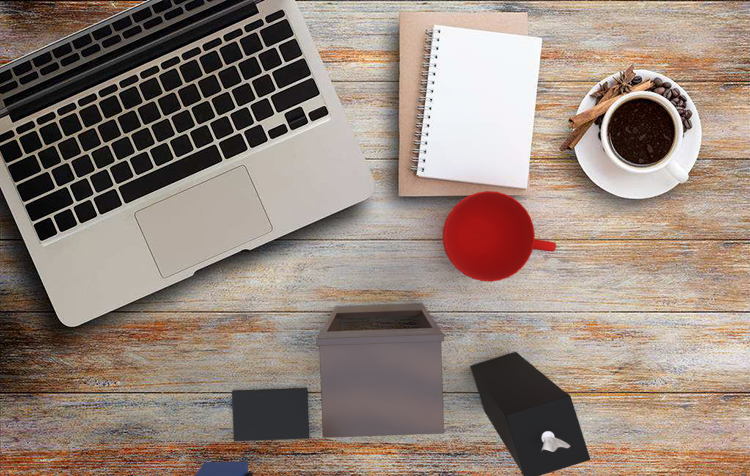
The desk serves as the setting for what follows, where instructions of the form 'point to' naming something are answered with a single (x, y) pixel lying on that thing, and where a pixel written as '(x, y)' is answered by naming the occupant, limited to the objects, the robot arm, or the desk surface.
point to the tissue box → (530, 415)
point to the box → (223, 469)
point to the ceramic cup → (490, 236)
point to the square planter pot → (381, 375)
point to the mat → (270, 414)
